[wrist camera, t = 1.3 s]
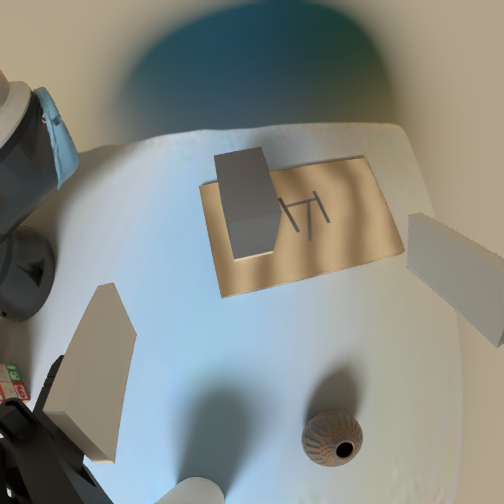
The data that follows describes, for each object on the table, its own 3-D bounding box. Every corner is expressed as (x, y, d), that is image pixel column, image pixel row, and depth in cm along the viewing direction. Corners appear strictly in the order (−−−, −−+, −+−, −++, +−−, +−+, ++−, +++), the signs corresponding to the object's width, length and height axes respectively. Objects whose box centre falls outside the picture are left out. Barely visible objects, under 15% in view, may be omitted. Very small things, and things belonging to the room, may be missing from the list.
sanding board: (222, 298, 39) (221, 296, 37) (200, 190, 44) (199, 186, 43) (401, 253, 41) (405, 250, 40) (362, 162, 46) (365, 157, 45)
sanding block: (221, 206, 42) (213, 155, 31) (257, 199, 42) (260, 146, 31) (234, 261, 39) (229, 223, 28) (272, 252, 39) (282, 212, 29)
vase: (358, 439, 32) (385, 457, 24) (310, 464, 31) (326, 489, 23) (338, 397, 34) (362, 406, 26) (288, 422, 33) (300, 439, 25)
